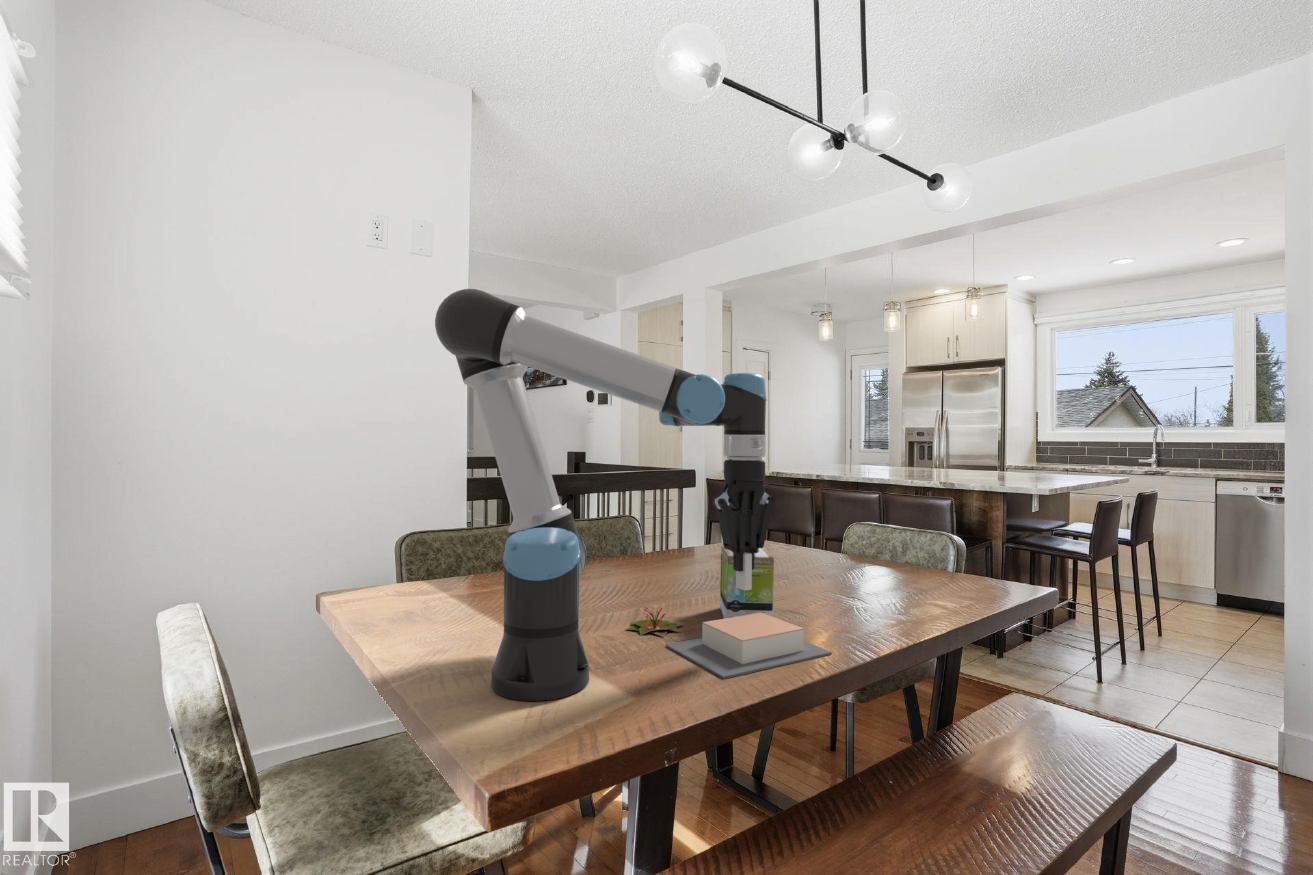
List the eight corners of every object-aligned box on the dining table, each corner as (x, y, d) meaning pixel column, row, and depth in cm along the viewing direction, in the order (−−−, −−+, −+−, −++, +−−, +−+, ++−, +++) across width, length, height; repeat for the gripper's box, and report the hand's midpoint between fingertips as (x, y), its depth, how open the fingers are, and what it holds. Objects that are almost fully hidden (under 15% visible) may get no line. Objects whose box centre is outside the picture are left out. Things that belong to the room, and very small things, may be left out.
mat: (723, 678, 100) (723, 676, 100) (665, 646, 115) (665, 644, 115) (831, 654, 112) (831, 651, 112) (766, 627, 127) (766, 625, 127)
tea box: (774, 628, 127) (775, 556, 127) (725, 627, 127) (726, 555, 128) (763, 608, 142) (763, 543, 142) (719, 607, 142) (719, 543, 143)
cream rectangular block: (742, 640, 105) (803, 628, 112) (702, 622, 116) (761, 612, 123) (742, 663, 105) (803, 650, 112) (702, 643, 116) (760, 632, 123)
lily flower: (694, 627, 129) (694, 605, 129) (666, 643, 118) (666, 619, 118) (644, 619, 135) (644, 597, 135) (613, 633, 124) (613, 610, 124)
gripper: (728, 459, 107) (727, 597, 106) (785, 459, 113) (784, 588, 113) (703, 458, 113) (702, 588, 113) (759, 458, 120) (758, 580, 120)
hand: (743, 588), depth 113 cm, fingers closed
